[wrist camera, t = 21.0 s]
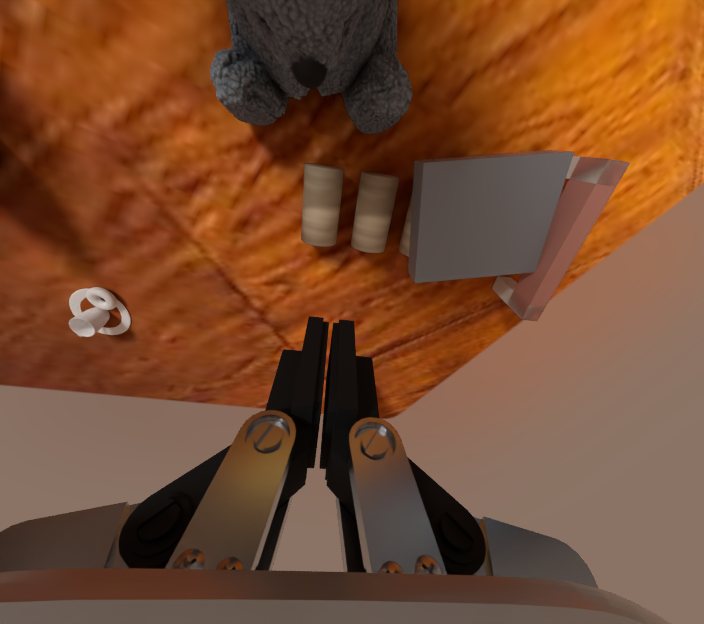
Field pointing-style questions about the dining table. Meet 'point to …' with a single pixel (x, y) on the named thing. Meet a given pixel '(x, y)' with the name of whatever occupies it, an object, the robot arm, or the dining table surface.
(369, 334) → the dining table surface
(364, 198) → the track
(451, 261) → the slab
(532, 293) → the pink u-shaped frame
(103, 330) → the white looped ring piece
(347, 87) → the koala plush
